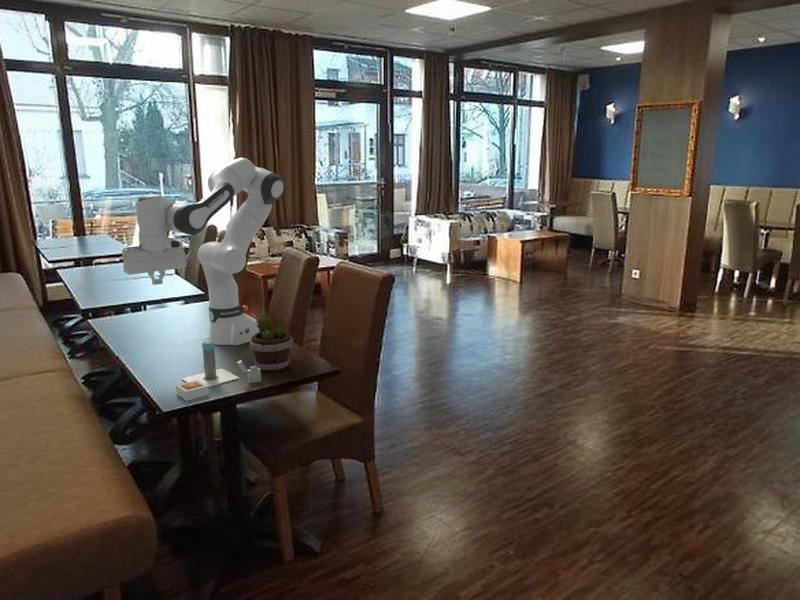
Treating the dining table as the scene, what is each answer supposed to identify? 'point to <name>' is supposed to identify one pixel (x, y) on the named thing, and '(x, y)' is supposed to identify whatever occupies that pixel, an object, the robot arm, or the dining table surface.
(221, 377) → the paper pad
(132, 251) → the robot arm
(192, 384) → the button
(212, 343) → the grey teal bottle
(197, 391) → the button box
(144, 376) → the dining table surface
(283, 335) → the flowerpot
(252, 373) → the lighter
